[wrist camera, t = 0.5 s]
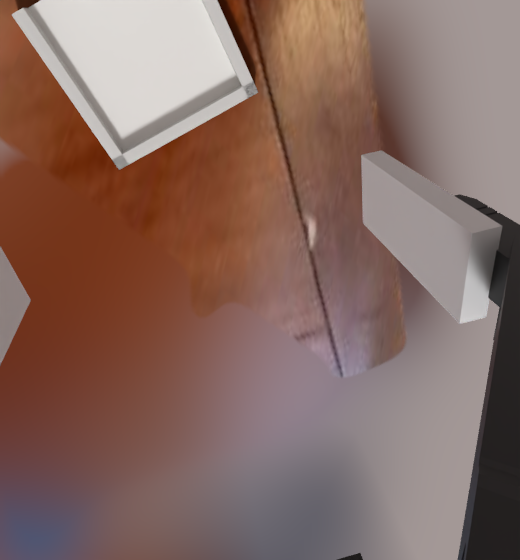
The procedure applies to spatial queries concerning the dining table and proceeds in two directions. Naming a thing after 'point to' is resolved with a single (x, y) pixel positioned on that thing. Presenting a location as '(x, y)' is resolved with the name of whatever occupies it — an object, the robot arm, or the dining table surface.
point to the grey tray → (139, 66)
